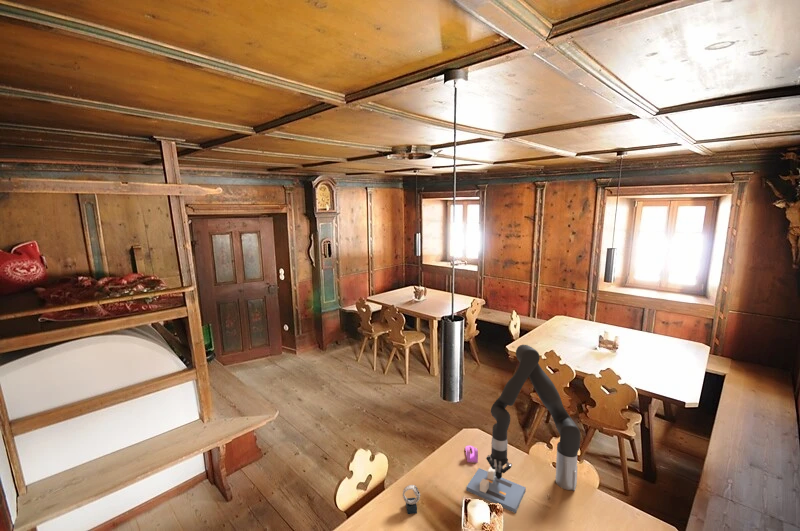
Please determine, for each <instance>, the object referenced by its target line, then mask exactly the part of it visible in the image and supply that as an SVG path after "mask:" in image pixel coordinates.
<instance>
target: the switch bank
mask: <svg viewBox="0 0 800 531" xmlns="http://www.w3.org/2000/svg"><path fill="white" fill-rule="evenodd" d="M487 474H488V470H485V469H483V468H481V467H479V468H478V469H477V470H476V472H475V473H474V475H473V476H472V477H471V479H470V480H469V482H468V484H467V485H466V487H465V490H466V492H469V493H471V494H473V495H475V496H477V497H480V498H482V499H483V500H485V501H488V502H491V503H492V502H493V503H492V504H494V503H499V504H501V505H502V506H503V507H502V509H506V510H508V511H510V512H512V513H514V514H517V511H518V509H519V507H520V504H521V503H522V500H523V498H524V496H525V494H526V490H527V488H526V486H523V485H521V484H519V483H516V482H514V481H511V480H509V479H507V478H504V477H503V476H502V477H501V479H497V477H495V478H494V480H490V479H488V478H487ZM482 479H486V480H488V481H489V489H488V490H487V492H486V493H484V492H482V491H480V482H481V481H482Z"/></svg>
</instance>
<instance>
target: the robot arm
mask: <svg viewBox="0 0 800 531" xmlns="http://www.w3.org/2000/svg"><path fill="white" fill-rule="evenodd" d="M515 357H516V359H517V360H518V362H519V366H518V368H517V370H516V372H515V373H514V374H513V376H512V377H511V378H509V379H508V381H507V382H506V384H505V385H504V387H503V389H502V392H501V394H500V395H499V397H498V398H497V399H496V400H495V401H494V402H493V404H492V405H491V409H490V414H491V415H492V417H493V419H494V420H495V421H496V422H495V423H494V424H493V425H492V435H491V443H490V444H491V453H490V454H488V455H487V456H486V458H485V459H486V460H487V463H488V464H489V465H490V466H489V467H492V469H495V471H496V475H495V476H496V477H497V479H501V477H502V478H503V474H506V472H508V471H509V470H511V468H512V466H513V464H512V463H511V462H509V459H508V445H509V444H508V430H509V427H510V424H511V414H510V413H509V411H508V410H507V409H506V407H508V406H510V407H512V406H513V405H515V402H516V400H517V398H518V396H519V394H520V392H521V390H522V388H523V387H524V385H525V383H526V382H527V380H528V378H529V381H530V382H531V384H532V386H533V389H534V390H535V392H536V394H537V396H538V398H539V399H540V401H541V403H542V404H543V405H544V407H545V408H546V409H547V411H548V412H549V414H550V415H551V418H552V420H553V422H554V424H555V428H556V430H557V432H558V434H559V441H558V443H557V444H556V461H555V484H557V486H558V487H560V488H561V489H563V490H567V491H574V492H575V491H576V487H577V484H578V483H577V482H578V453H579V451H580V447H581V431H580V429H579V427H578V426H577V423H576V422H575V421H574V419H572V417H571V416H570V415H569V412H568V411H567V410H566V408H565V407H564V403H563V402H562V399H561V395H560V393H559V391H558V390H557V388H556V386H555V384H554V382H553V381H552V380H551V378H550V377H549V375H548V374H547V373H546V371H544V369H543V368H542V367H541V366H540V364H539V362H540V359H541V358H540V357H541V356H540V353H539V352H538V351H537V350H536V349H535V348H533V347H532V346H530V345H528V344H521V345H519V346H517V348H516V350H515ZM504 466H505V467H504Z"/></svg>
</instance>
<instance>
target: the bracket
mask: <svg viewBox="0 0 800 531" xmlns="http://www.w3.org/2000/svg"><path fill="white" fill-rule="evenodd" d="M470 449H471V450H470ZM465 451H466V452H465ZM464 452H465V456H466V461H467V463H479V451H478V448H477V447H475V446H474V445H470V444H469V445H466V446H465V447H464Z"/></svg>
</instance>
